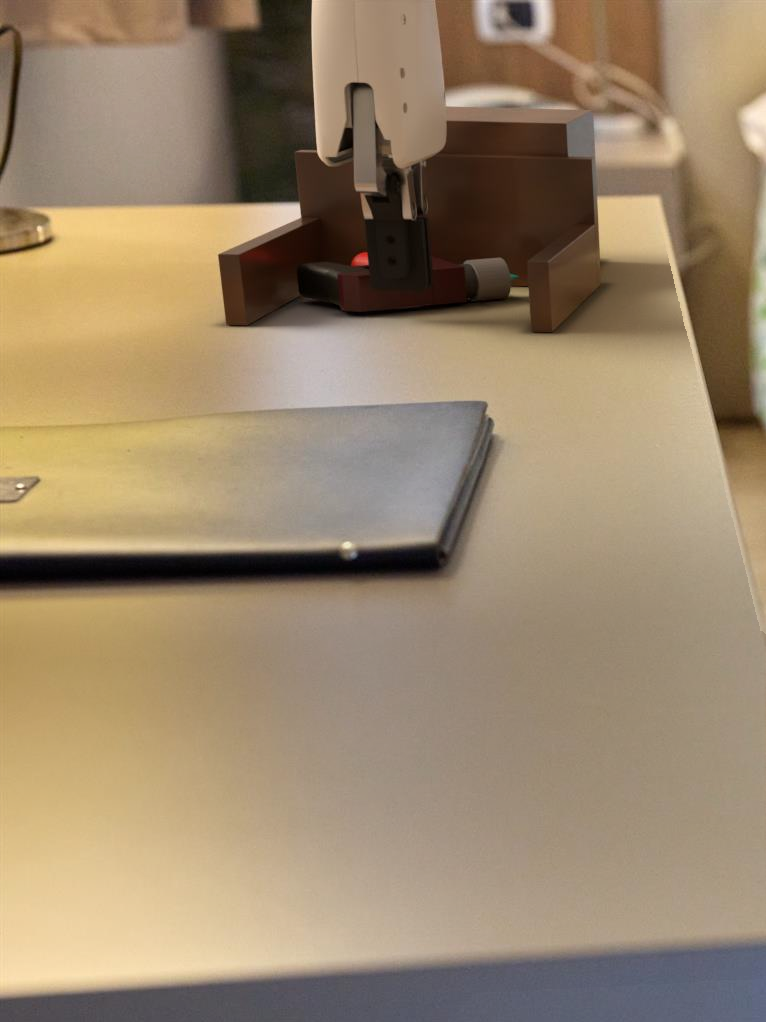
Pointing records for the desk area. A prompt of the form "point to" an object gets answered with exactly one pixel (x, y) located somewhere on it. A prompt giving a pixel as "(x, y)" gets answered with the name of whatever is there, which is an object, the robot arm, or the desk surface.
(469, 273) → the toy gun
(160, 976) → the desk surface
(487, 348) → the desk surface
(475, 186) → the brown u-shaped frame
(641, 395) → the desk surface
